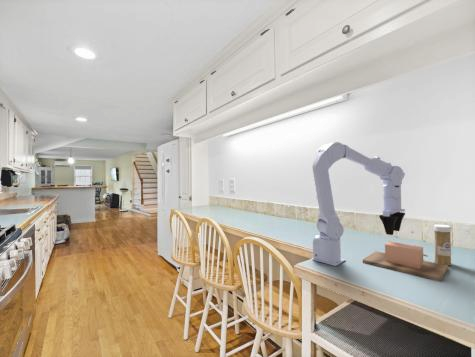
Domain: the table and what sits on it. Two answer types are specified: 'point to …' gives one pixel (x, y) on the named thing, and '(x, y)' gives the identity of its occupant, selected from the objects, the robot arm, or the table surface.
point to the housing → (404, 254)
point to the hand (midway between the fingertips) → (392, 232)
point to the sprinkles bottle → (442, 244)
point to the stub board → (426, 270)
